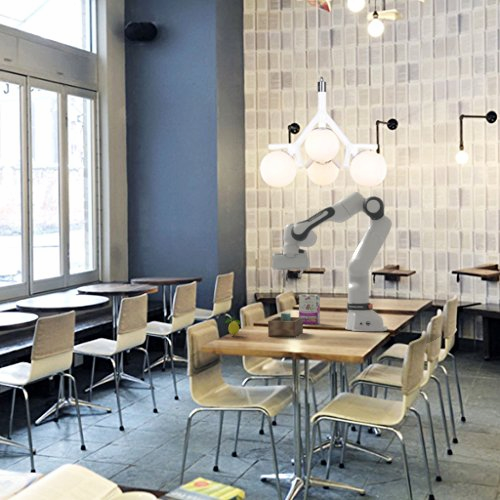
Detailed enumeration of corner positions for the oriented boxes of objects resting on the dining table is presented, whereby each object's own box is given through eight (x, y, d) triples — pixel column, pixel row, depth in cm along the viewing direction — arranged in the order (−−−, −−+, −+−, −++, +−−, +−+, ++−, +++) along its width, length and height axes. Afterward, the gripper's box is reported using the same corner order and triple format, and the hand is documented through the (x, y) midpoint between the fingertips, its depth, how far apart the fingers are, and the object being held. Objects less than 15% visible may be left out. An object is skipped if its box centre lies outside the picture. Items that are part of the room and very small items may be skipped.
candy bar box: (320, 323, 451) (320, 294, 450) (317, 324, 447) (317, 295, 446) (301, 322, 455) (301, 294, 455) (298, 323, 451) (298, 294, 450)
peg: (290, 332, 413) (290, 312, 412) (288, 333, 409) (288, 313, 409) (283, 331, 414) (282, 312, 414) (281, 333, 410) (280, 313, 410)
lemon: (225, 336, 408) (224, 316, 408) (230, 334, 414) (230, 315, 413) (236, 337, 405) (236, 317, 405) (242, 335, 410) (242, 316, 410)
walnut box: (302, 332, 418) (302, 317, 417) (295, 337, 402) (295, 321, 401) (277, 331, 422) (276, 316, 422) (268, 336, 406) (268, 320, 405)
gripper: (271, 251, 432) (270, 275, 427) (309, 250, 428) (309, 275, 424) (273, 255, 438) (272, 279, 433) (310, 254, 434) (310, 278, 430)
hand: (290, 277), depth 429 cm, fingers open, 8 cm apart
